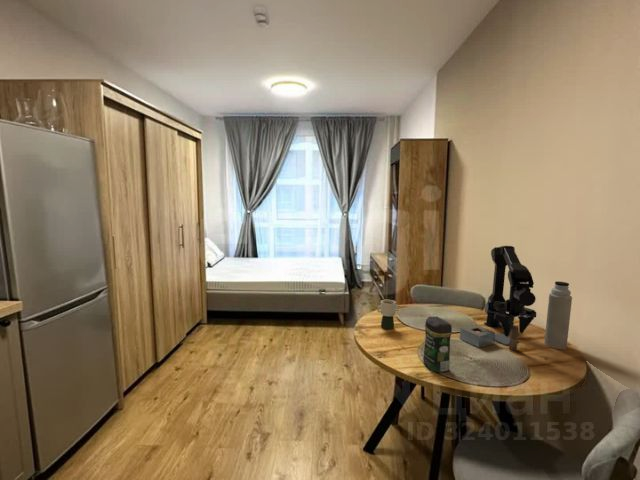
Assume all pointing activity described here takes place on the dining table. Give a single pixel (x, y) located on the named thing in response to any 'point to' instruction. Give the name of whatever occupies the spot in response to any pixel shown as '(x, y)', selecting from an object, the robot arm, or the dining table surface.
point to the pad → (503, 339)
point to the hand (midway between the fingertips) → (513, 334)
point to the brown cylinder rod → (513, 338)
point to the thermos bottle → (558, 316)
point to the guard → (477, 335)
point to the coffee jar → (437, 344)
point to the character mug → (388, 313)
